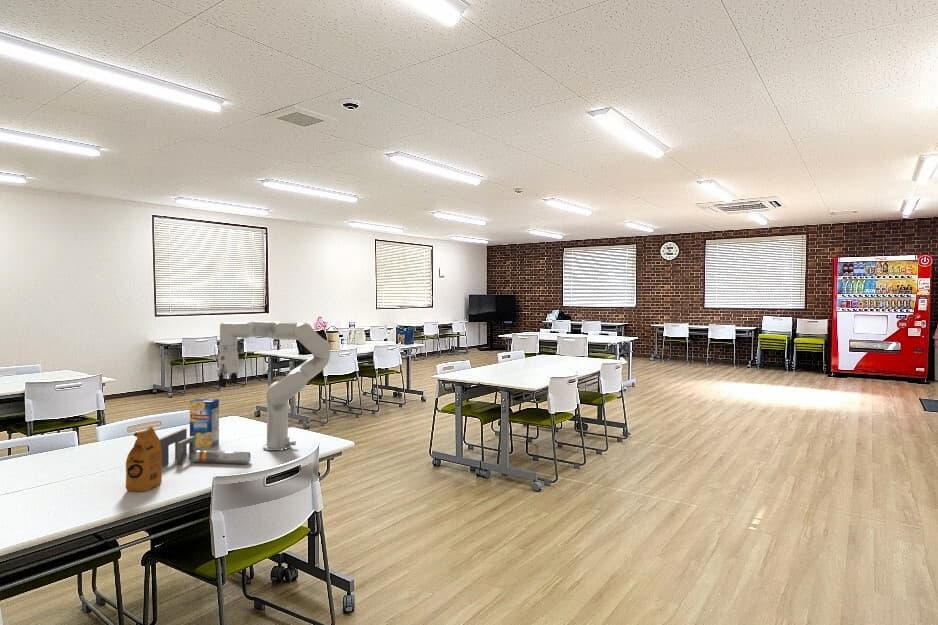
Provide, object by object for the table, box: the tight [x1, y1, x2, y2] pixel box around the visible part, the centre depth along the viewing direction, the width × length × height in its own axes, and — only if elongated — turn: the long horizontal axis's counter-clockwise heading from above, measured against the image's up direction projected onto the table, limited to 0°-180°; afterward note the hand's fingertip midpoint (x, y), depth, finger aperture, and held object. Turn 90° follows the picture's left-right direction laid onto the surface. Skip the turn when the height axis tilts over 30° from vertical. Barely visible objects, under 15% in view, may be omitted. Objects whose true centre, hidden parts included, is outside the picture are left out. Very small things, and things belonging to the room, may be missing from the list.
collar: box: [176, 436, 196, 466], centre depth 244 cm, size 2×11×10 cm, turn 177°
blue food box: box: [189, 398, 220, 448], centre depth 270 cm, size 7×11×22 cm, turn 86°
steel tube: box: [190, 449, 252, 465], centre depth 243 cm, size 24×5×5 cm, turn 87°
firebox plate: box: [158, 427, 188, 468], centre depth 244 cm, size 2×20×12 cm, turn 177°
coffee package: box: [125, 426, 163, 493], centre depth 212 cm, size 10×12×22 cm
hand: (228, 385), depth 261 cm, fingers open, 9 cm apart
